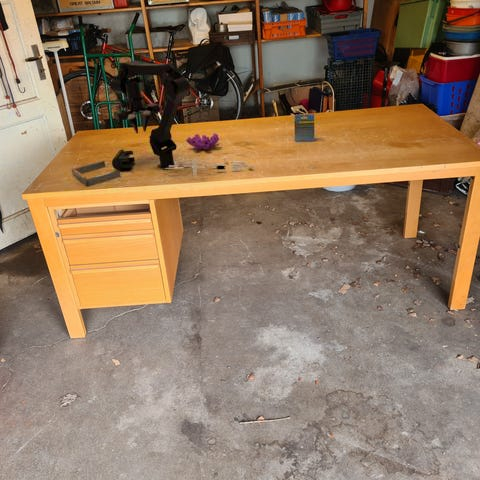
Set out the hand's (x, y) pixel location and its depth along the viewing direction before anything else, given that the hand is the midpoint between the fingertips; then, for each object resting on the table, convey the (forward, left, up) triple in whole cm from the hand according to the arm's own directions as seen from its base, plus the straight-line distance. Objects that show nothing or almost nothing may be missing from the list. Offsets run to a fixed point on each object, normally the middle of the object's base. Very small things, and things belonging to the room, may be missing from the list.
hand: (140, 132), depth 193 cm
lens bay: (0, +22, -13) cm, 26 cm away
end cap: (0, +10, -13) cm, 17 cm away
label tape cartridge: (-29, -66, -13) cm, 73 cm away
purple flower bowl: (-4, -27, -13) cm, 30 cm away
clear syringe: (-27, -15, -14) cm, 34 cm away
